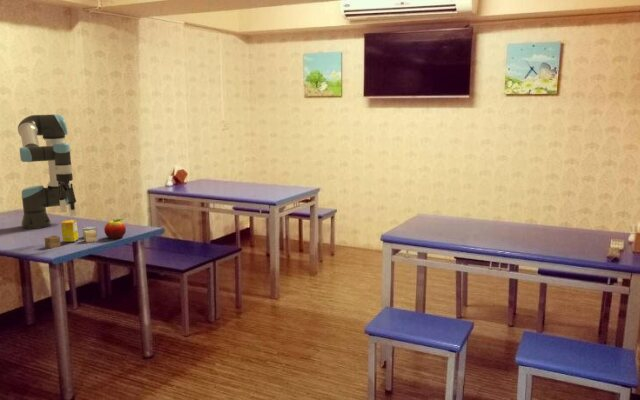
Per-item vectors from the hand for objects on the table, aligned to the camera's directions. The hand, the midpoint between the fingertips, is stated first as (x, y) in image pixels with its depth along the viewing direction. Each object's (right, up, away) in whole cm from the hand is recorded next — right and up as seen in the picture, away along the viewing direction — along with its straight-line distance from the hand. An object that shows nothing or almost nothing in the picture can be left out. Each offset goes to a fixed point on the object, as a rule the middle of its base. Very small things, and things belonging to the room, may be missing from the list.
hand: (68, 214), depth 270 cm
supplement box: (0, -15, +3) cm, 15 cm away
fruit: (+21, -13, +10) cm, 27 cm away
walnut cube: (-4, -16, -7) cm, 18 cm away
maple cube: (+10, -14, +4) cm, 18 cm away
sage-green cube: (+6, -13, +12) cm, 19 cm away
